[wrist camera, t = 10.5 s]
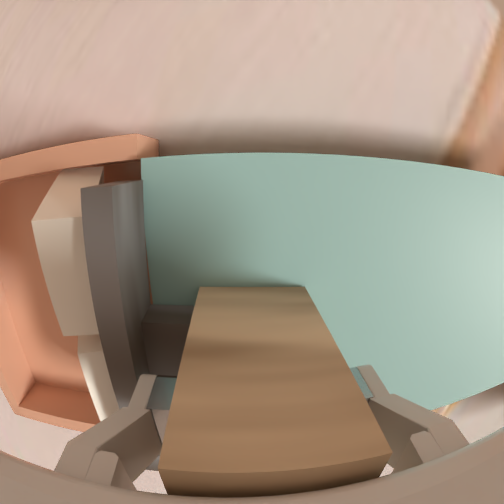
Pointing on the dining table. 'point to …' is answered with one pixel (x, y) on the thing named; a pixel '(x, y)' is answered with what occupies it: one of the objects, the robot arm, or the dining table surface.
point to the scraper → (227, 371)
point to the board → (346, 255)
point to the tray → (34, 286)
